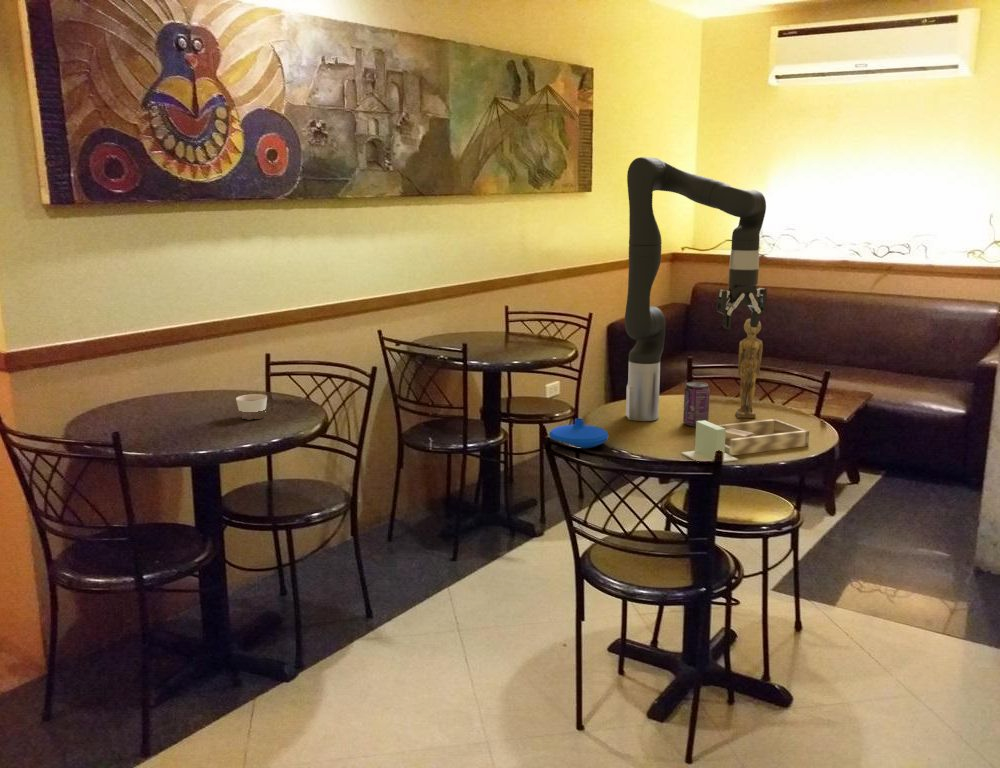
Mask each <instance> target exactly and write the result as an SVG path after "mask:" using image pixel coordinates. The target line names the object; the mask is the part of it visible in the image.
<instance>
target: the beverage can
mask: <svg viewBox="0 0 1000 768" xmlns="http://www.w3.org/2000/svg"><path fill="white" fill-rule="evenodd" d="M685 385H686V387H685V389H684V391H683V392H684V393H683V394H684V396H683V416H682V417H683V421H682V422H683V424H685V425H687V426H690V427H695V428H696V421H703V420H705V421H708V422H709V417H710V416H709V414H710V398H711V397H710V395H711V394H710V393H711V392H710V388H709V384H708V383H706V382H701V381H689V382H687V383H685Z"/></svg>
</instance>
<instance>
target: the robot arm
mask: <svg viewBox="0 0 1000 768" xmlns="http://www.w3.org/2000/svg"><path fill="white" fill-rule="evenodd" d="M626 177H627V179H626V182H627V184H626V185H627V193H628V195H627V197H628V206H629V209H628V211H629V212H628V214H629V216H628V217H629V219H628V221H629V222H628V223H629V224H628V225H629V227H628V228H629V229H628V230H629V231H628V232H629V236H628V239H629V240H628V274H627V275H628V279H627V281H628V282H627V298H626V306H625V314H624V328H625V331H626V333H627V335H628V336H629V337H630V338H631V339H633V340H635V341H636V342H635V345H634V346H633V347H632V349H631V350H629V352H628V378H627V379H628V380H627V384H626V393H625V394H626V399H625V400H626V401H625V417H626V418H627V419H628V421H636V422H652V421H656V420H658V419H659V411H660V410H659V407H660V406H659V405H660V384H661V383H660V380H661V358H662V354H663V352H664V347H665V336H666V319H665V314H664V313H663V311H662V310H661V308H659V307H656V306H654V305H653V306H652V305H651V292H652V286H653V285H654V282H655V279H656V277H657V275H658V272H659V269H660V266H661V262H662V235H661V231H660V229H659V225H658V223H657V219H656V218H655V214H654V208H653V195H654V192H655V191H662V192H669V193H675V194H678V195H680V196H683V197H685V198H687V199H688V200H689V201H692V202H695V203H697V204H700V205H703V206H707V207H709V208H713V209H717V210H719V211H722V212H723V213H725V214H728V215H730V216H734V217H737V218H739V223H738V225H737V227H735V228H734V229H733V231H732V235H731V249H730V256H729V265H728V266H729V268H728V286H729V287H728V290H724V289H719V290H718V291H717V299H716V300H717V301H716V307H715V308H716V310H715V311H716V312H717V313H719V314H722V323H721V325H722V327H723V329H726V330H731V325H732V313H733V311H734V310H735V309H736V308H737V307H743V306H747V307H748V308H749V310H750V311H751V313H750V318H751V320H750V326H751V327H754V328H755V327H757V325H758V324H759V321H760V314H761V313H762V312H765V311H767V307H768V306H767V305H768V304H767V303H768V302H767V300H768V299H767V297H768V292H767V291H768V289H766V288H763V287H758V288H757V285H758V282H759V267H760V235H761V230H762V227H763V224H764V219H765V217H766V211H767V202H766V198H765V196H764V194H763V193H762V192H761V191H759V190H755V189H741V188H737V187H734V186H731V185H729V184H728V183H726V182H723V181H719V180H716V179H713V178H709V177H706V176H702V175H697V174H693V173H689V172H687V171H684V170H682V169H678V168H677V167H675V166H673V165H671V164H670V163H667V162H665V161H664V160H661V159H660V158H657V157H646V156H640V157H636V158H635V159H633V160H632V161H631V162H630V164H629V166H628V170H627V174H626ZM756 298H757V299H756ZM727 299H728V300H727Z"/></svg>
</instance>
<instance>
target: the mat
mask: <svg viewBox="0 0 1000 768" xmlns="http://www.w3.org/2000/svg"><path fill="white" fill-rule="evenodd" d="M681 455H683V456H685V457H687V458H689V459H692V460H693V461H695V460H696V461H695V462H697V461H712V459H710V458H708V457H706V456H704V455H702V454H699V453H697V452H695V450H690V451H682V452H681ZM735 461H739V458H738V457H734V455H730V454H728V453H726V452H725V453H724V460H723V462H722V463H729V462H735Z"/></svg>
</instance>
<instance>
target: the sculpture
mask: <svg viewBox="0 0 1000 768" xmlns="http://www.w3.org/2000/svg"><path fill="white" fill-rule="evenodd" d="M750 320H751V317H750V318H747V319H746V320H745V322H744V324H743V330H744V332H745V333H746V335H747V336H746V338H743V339H741V340H740V342H739V344H738V362H737V363H738V369H737V376H738V377H739V379H740V386H739V396H740V397H739V398H740V406H739V407H740V408H738V409H737V410H736V411H735V417H736V418H737V419H738V418H749V419H751V418H756V417H757V414H756V412H755V411H754V410H753V400H754V398H755V393H756V382H757V381H756V380H757V378H758V377H760V375H761V372H760V371H761V370H760V369H761V363H762V356H763V346H764V345H763V341H762V340H761V339H759V338H758V337H757V335H758V334H759V333H760V331H761V329H762V323H761V321H760V320H759V324H758V325H757V327H755V328H754V327H751V326H750Z"/></svg>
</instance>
